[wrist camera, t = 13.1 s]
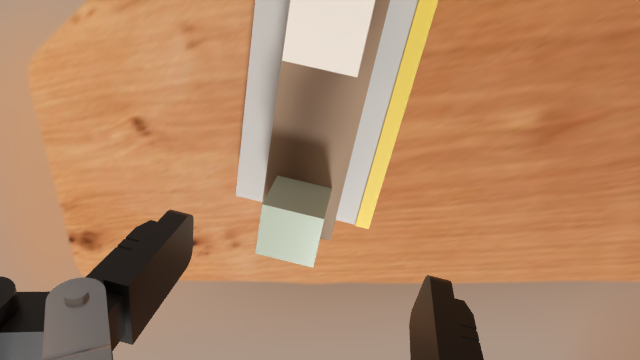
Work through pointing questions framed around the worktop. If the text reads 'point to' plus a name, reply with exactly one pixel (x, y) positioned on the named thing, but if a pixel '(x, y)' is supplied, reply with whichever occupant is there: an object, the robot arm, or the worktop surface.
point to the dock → (378, 112)
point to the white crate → (328, 34)
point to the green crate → (292, 221)
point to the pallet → (320, 121)
